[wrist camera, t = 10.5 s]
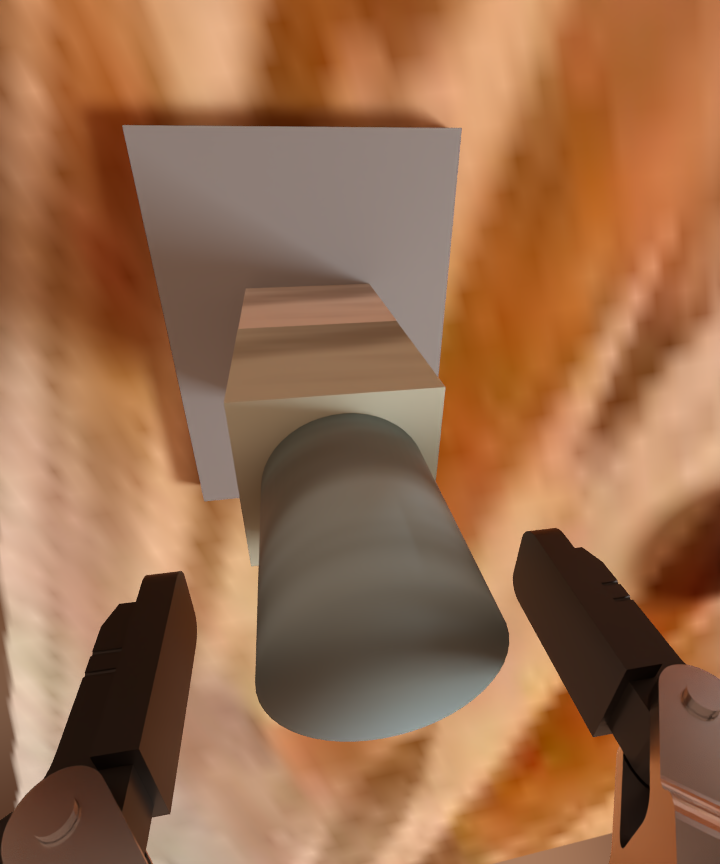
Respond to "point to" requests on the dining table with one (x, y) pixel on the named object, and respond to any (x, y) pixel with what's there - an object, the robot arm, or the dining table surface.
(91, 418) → the dining table surface
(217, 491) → the tower board
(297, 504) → the cylinder
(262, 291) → the base block
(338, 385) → the top block
